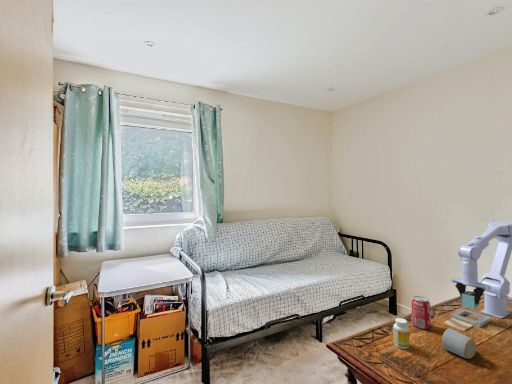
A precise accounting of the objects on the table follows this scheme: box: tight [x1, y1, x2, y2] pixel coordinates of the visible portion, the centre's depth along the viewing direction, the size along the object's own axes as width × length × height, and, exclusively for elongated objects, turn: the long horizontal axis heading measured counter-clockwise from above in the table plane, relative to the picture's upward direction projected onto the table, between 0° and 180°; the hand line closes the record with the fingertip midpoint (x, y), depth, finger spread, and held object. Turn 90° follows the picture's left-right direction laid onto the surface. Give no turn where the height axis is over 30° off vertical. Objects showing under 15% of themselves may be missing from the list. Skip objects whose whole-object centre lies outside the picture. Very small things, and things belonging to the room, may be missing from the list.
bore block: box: [450, 308, 492, 328], centre depth 124 cm, size 11×11×2 cm
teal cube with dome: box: [461, 290, 480, 310], centre depth 124 cm, size 5×5×6 cm
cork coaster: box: [442, 317, 474, 332], centre depth 120 cm, size 8×8×1 cm
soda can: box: [411, 295, 432, 330], centre depth 119 cm, size 7×7×12 cm
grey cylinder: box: [441, 327, 477, 360], centre depth 100 cm, size 11×8×8 cm
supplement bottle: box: [392, 317, 410, 350], centre depth 105 cm, size 5×5×10 cm
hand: (470, 302), depth 124 cm, fingers closed on teal cube with dome, 5 cm apart
